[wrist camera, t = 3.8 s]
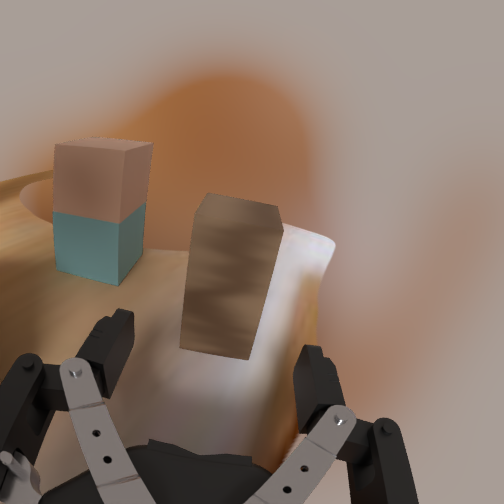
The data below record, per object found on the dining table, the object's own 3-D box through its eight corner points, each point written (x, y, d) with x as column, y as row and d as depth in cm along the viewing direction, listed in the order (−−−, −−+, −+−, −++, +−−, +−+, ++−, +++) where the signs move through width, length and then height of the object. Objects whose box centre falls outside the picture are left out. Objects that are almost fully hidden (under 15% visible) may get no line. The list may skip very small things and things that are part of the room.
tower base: (56, 270, 25) (52, 211, 23) (88, 242, 31) (88, 191, 29) (118, 286, 26) (118, 224, 23) (142, 254, 32) (146, 201, 29)
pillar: (179, 348, 21) (194, 213, 17) (191, 308, 25) (207, 192, 21) (248, 360, 21) (283, 230, 17) (249, 319, 26) (277, 206, 22)
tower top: (53, 211, 23) (55, 144, 20) (88, 191, 29) (92, 136, 27) (119, 223, 23) (125, 150, 21) (146, 201, 30) (153, 143, 27)
